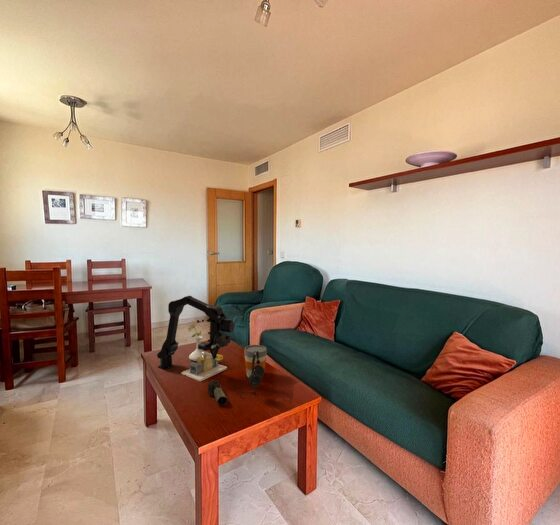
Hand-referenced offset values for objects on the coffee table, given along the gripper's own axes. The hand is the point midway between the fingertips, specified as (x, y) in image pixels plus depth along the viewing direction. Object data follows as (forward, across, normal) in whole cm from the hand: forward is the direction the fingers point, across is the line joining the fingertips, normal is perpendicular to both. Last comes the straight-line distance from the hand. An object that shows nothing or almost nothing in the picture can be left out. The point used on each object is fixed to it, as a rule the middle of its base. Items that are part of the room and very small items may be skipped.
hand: (214, 358), depth 159 cm
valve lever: (+1, +2, +4) cm, 5 cm away
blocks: (+10, +2, +9) cm, 13 cm away
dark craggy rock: (+11, -14, -16) cm, 24 cm away
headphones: (+10, -1, -27) cm, 29 cm away
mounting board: (+10, +2, +9) cm, 13 cm away
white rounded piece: (+9, +10, +25) cm, 29 cm away
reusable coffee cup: (+10, +15, -17) cm, 24 cm away
